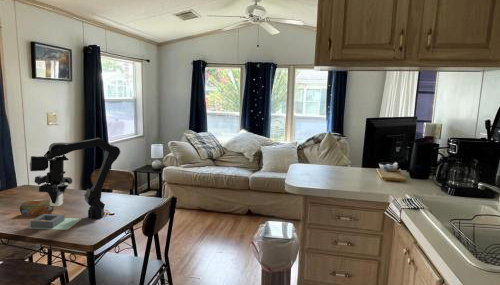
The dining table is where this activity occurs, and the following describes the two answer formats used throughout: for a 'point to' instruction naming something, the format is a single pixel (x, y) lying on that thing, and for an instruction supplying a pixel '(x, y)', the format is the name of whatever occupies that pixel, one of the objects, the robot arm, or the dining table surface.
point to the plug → (58, 200)
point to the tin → (36, 207)
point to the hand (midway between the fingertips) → (56, 201)
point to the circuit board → (63, 224)
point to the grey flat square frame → (47, 221)
